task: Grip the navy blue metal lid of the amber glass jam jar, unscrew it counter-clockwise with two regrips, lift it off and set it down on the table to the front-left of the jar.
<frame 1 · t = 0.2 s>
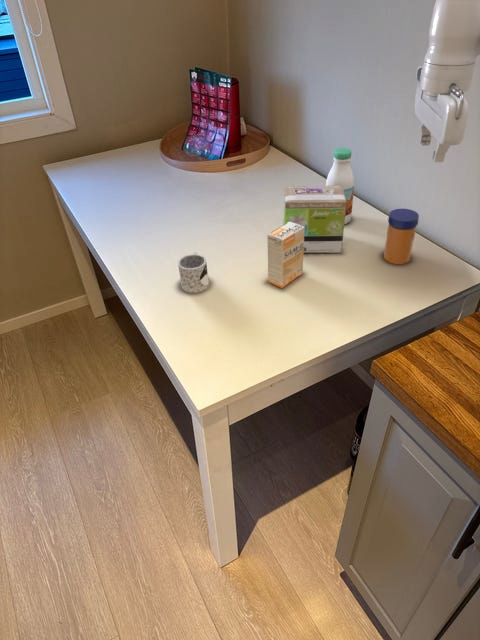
hand: (430, 152, 98), 29 cm above the table, tool pointing down, fingers open, 8 cm apart
tea box: (311, 245, 130), on the table
supplement box: (285, 278, 118), on the table
lid: (403, 216, 115), point 11 cm above the table, screwed on, not yet turned
jar: (396, 257, 122), on the table
mug: (195, 281, 119), on the table
milk bottle: (337, 220, 140), on the table
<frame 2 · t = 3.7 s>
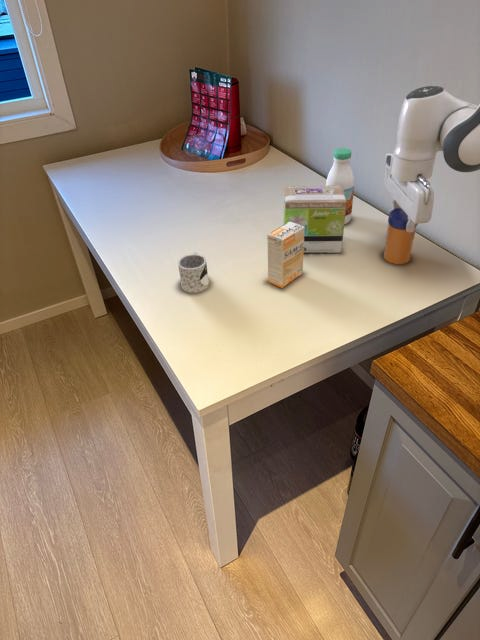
hand: (402, 222, 116), 10 cm above the table, tool pointing down, fingers closed on lid, 6 cm apart
lid: (403, 216, 115), point 11 cm above the table, screwed on, not yet turned, touching gripper
everything else where it was.
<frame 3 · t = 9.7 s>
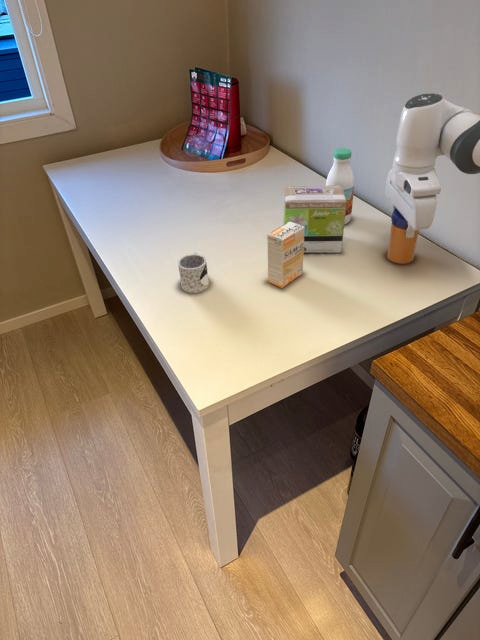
hand: (402, 228, 117), 8 cm above the table, tool pointing down, fingers closed on jar, 6 cm apart
lid: (407, 214, 115), point 12 cm above the table, turned 178° so far, risen 0.2 cm, still on its thread
jar: (400, 257, 122), on the table, touching gripper
everything else where it was.
when the fingers open (8 cm above the table, at t = 11.2 s): jar stays where it is, on the table.
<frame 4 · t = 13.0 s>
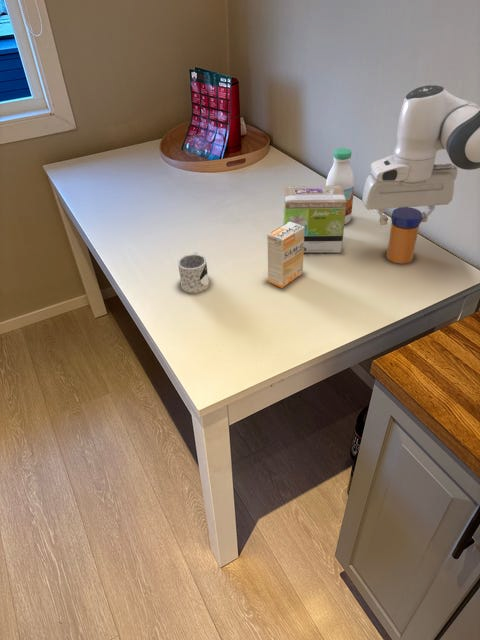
hand: (402, 222, 116), 10 cm above the table, tool pointing down, fingers open, 8 cm apart
lid: (406, 214, 115), point 12 cm above the table, turned 178° so far, risen 0.2 cm, still on its thread, touching gripper
jar: (399, 256, 123), on the table
everything else where it was.
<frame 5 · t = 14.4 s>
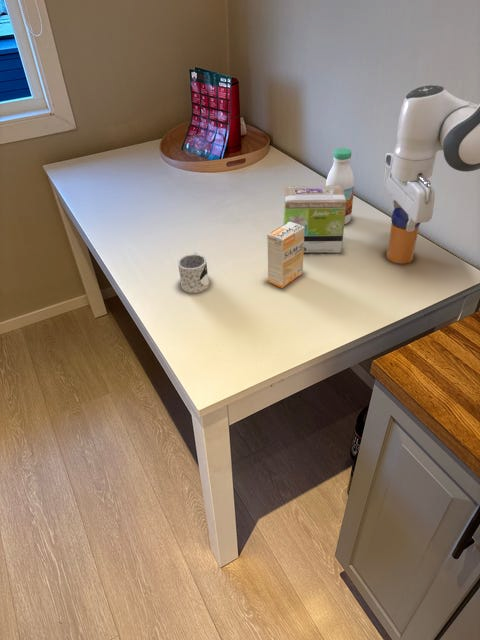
hand: (402, 222, 116), 10 cm above the table, tool pointing down, fingers closed on lid, 6 cm apart
lid: (407, 214, 115), point 12 cm above the table, turned 171° so far, risen 0.2 cm, still on its thread, touching gripper
everything else where it was.
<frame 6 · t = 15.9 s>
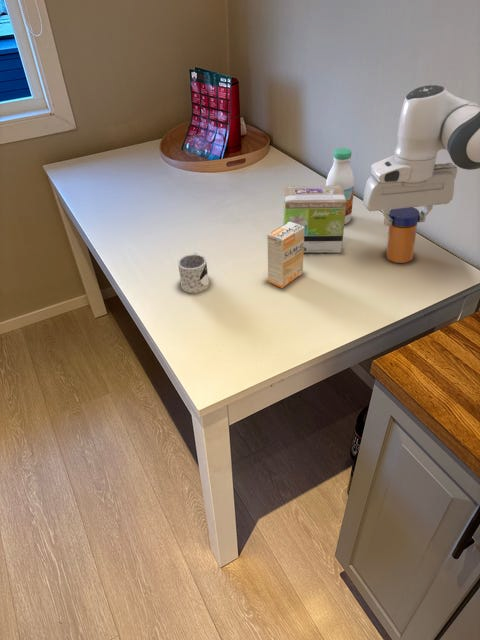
hand: (403, 222, 116), 10 cm above the table, tool pointing down, fingers closed on lid, 6 cm apart
lid: (404, 213, 115), point 12 cm above the table, turned 260° so far, risen 0.3 cm, still on its thread, touching gripper
jar: (399, 256, 122), on the table, touching gripper
everything else where it was.
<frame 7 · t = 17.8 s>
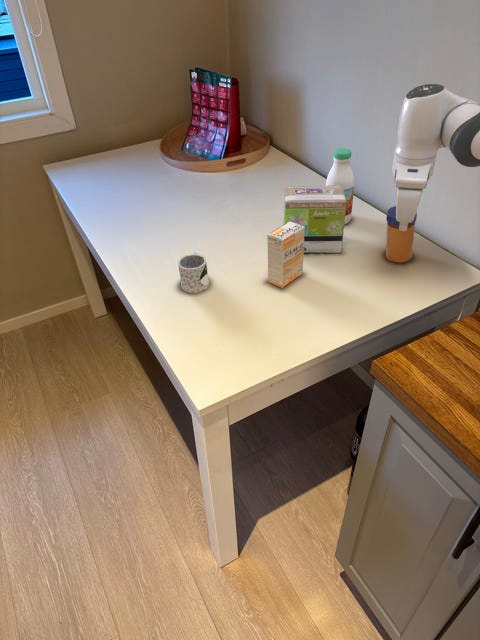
hand: (403, 221, 116), 10 cm above the table, tool pointing down, fingers closed on lid, 6 cm apart
lid: (401, 213, 115), point 12 cm above the table, tilted 6°, turned 323° so far, risen 0.4 cm, still on its thread, touching gripper
everything else where it was.
when the fingers open (0 cm above the table, at t = 28.0 s): lid stays where it is, point 2 cm above the table.
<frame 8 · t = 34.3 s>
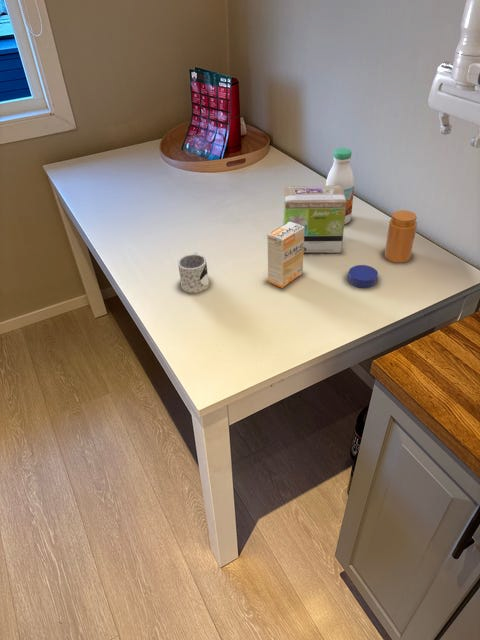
hand: (459, 139, 103), 29 cm above the table, tool pointing down, fingers open, 8 cm apart
lid: (363, 274, 114), point 2 cm above the table, off its thread
jar: (397, 255, 123), on the table
everything else where it was.
at the end: lid came off its thread; lid point 1.7 cm above the table; the gripper is holding nothing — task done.
